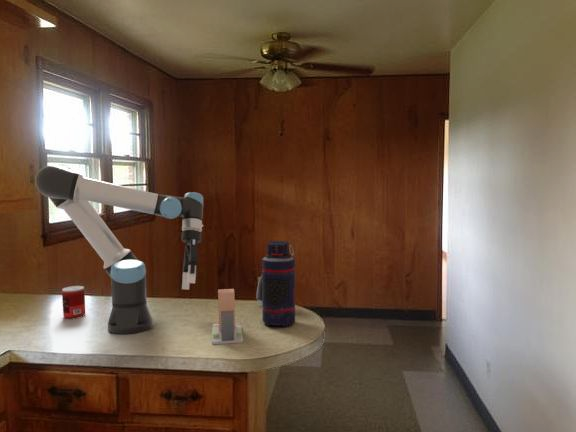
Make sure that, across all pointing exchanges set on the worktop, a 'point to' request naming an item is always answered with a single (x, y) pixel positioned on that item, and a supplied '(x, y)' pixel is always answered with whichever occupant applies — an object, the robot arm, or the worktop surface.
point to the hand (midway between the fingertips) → (188, 286)
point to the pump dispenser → (259, 291)
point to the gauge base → (217, 340)
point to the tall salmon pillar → (226, 304)
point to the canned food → (73, 302)
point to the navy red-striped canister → (278, 285)
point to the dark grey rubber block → (227, 326)
